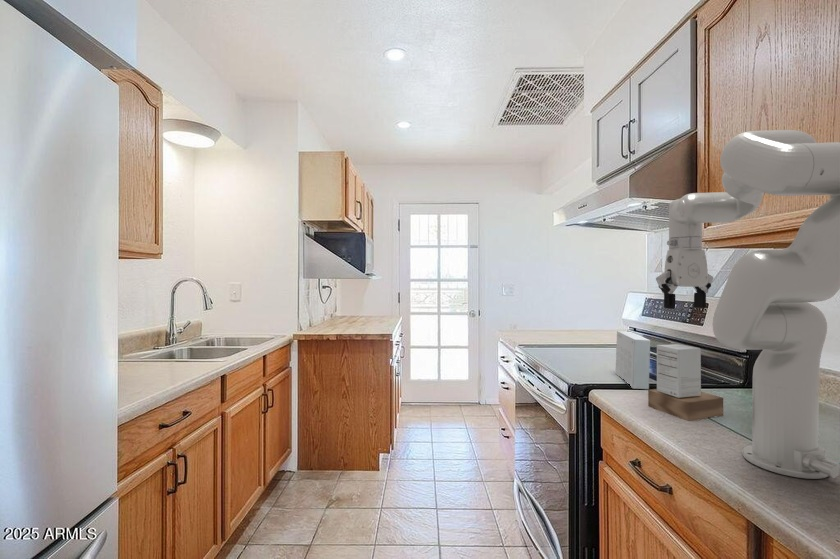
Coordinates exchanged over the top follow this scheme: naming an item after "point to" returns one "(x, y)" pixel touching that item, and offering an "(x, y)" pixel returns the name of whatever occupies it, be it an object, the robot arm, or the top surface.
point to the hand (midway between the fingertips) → (684, 307)
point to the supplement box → (679, 370)
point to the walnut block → (686, 405)
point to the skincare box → (633, 359)
